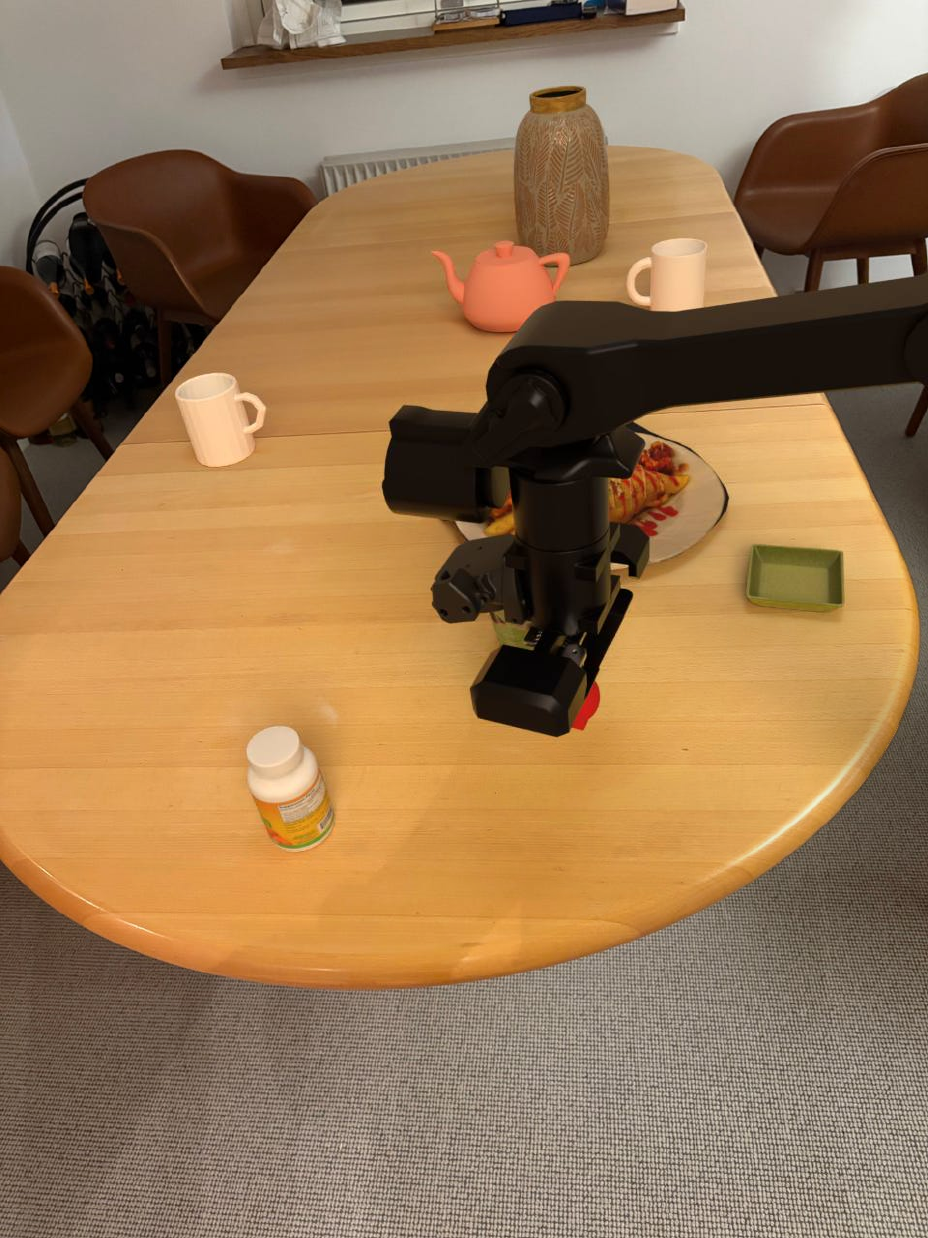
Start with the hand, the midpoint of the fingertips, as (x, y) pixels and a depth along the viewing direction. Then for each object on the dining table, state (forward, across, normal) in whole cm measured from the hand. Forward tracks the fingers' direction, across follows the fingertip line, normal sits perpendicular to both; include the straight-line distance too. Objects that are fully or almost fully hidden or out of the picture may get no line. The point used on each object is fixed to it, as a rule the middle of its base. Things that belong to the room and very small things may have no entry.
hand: (573, 705), depth 63 cm
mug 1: (+10, -41, -62) cm, 75 cm away
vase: (+10, -121, -43) cm, 129 cm away
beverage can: (+11, -14, -10) cm, 20 cm away
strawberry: (+1, 0, 0) cm, 1 cm away
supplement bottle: (+11, +10, -20) cm, 25 cm away
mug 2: (+11, -95, -18) cm, 98 cm away
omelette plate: (+11, -41, -14) cm, 45 cm away
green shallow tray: (+11, -31, +12) cm, 35 cm away
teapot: (+10, -90, -43) cm, 100 cm away
